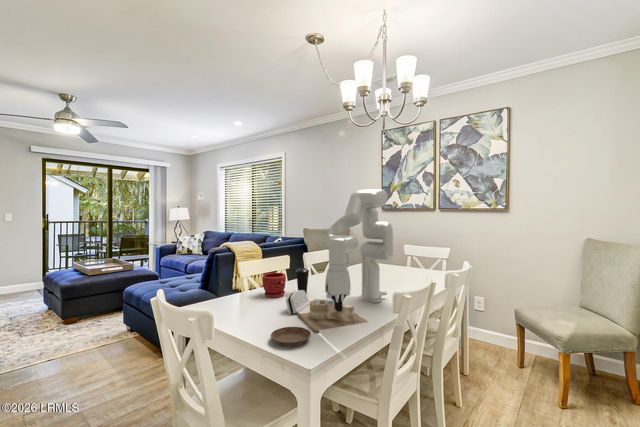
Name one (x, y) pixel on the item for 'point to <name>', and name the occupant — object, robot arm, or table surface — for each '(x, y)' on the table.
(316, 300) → the peg
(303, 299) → the white rounded block
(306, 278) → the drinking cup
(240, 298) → the table surface
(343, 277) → the robot arm
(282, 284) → the plant pot
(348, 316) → the link
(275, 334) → the saucer
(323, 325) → the board
